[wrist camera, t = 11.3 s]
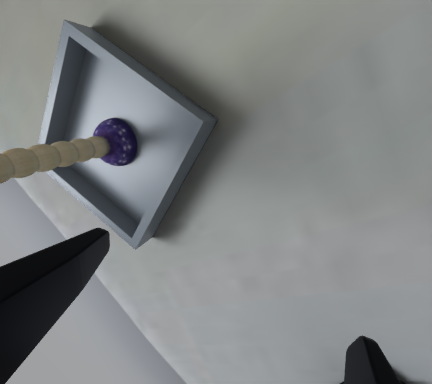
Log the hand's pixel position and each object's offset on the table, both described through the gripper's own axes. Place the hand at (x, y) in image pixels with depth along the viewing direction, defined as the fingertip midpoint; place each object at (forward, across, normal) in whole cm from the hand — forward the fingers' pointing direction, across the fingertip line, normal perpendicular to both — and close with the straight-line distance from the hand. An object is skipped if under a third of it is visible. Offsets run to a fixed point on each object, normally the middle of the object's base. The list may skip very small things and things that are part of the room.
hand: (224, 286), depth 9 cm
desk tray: (+14, +13, +4) cm, 19 cm away
